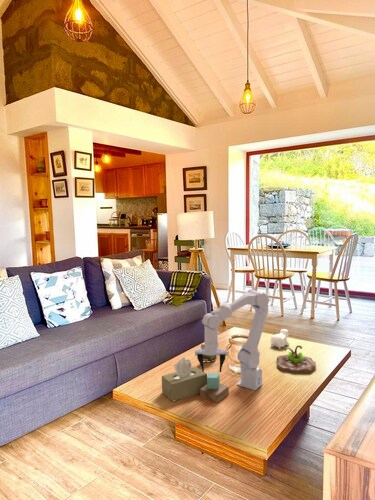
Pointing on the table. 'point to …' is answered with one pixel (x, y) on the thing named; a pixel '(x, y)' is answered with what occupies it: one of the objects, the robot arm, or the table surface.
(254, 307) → the robot arm
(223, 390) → the walnut block
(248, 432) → the table surface
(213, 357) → the food container
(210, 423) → the table surface
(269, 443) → the table surface
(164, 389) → the tissue box
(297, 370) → the plant
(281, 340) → the white animal figurine
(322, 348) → the table surface
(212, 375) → the teal cube
